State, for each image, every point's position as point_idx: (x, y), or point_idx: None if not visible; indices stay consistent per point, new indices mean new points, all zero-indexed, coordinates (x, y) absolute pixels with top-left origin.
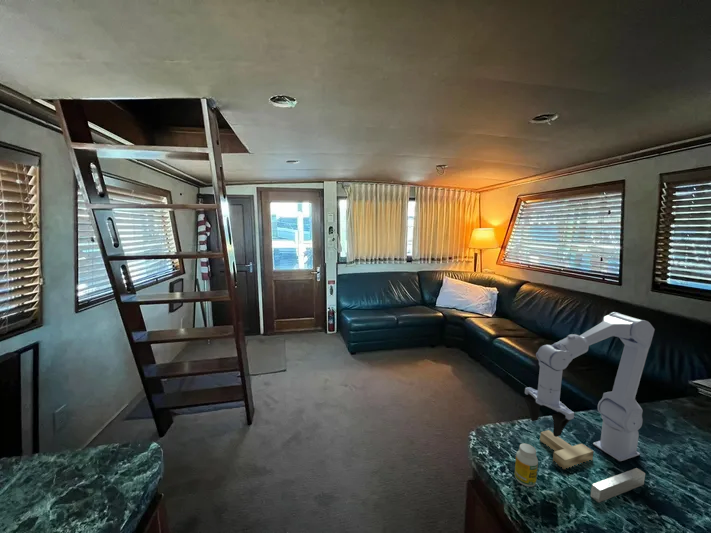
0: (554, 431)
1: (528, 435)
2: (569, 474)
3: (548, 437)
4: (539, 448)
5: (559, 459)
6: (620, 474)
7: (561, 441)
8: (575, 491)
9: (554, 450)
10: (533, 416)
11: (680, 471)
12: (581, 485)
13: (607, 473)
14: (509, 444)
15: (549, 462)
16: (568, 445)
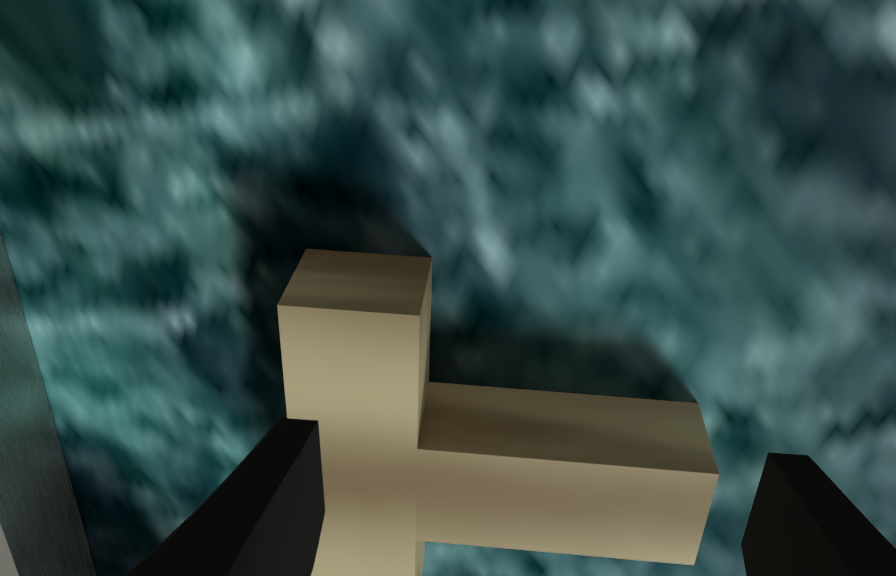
0: (259, 471)
1: (816, 367)
2: (240, 237)
3: (613, 468)
4: (619, 295)
5: (348, 289)
6: (3, 544)
7: (507, 519)
8: (45, 81)
9: (522, 394)
10: (797, 538)
11: None
12: (104, 210)
13: (183, 511)
14: (867, 9)
15: (426, 204)
16: (437, 523)
